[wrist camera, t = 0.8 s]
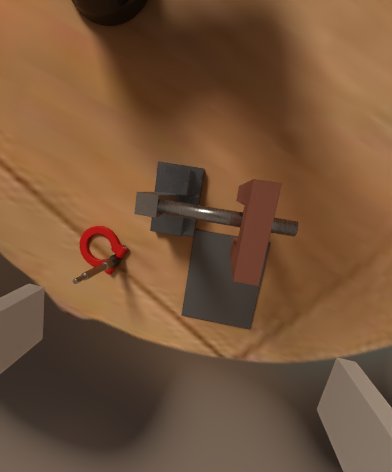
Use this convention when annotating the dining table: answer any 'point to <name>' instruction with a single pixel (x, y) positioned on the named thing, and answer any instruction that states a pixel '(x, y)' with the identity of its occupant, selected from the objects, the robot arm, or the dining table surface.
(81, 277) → the tow hook
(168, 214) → the toilet paper holder
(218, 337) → the dining table surface
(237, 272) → the reddish-brown c-shaped bracket
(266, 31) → the dining table surface
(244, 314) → the mat
